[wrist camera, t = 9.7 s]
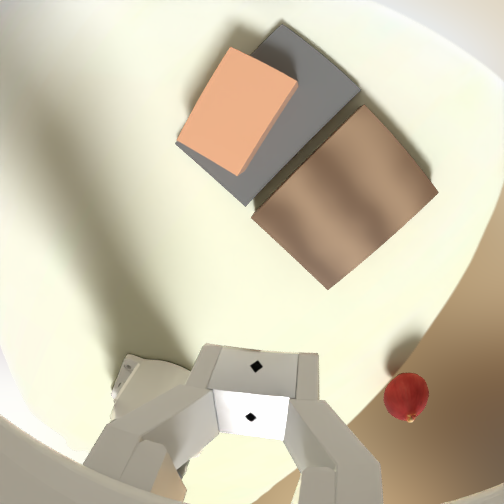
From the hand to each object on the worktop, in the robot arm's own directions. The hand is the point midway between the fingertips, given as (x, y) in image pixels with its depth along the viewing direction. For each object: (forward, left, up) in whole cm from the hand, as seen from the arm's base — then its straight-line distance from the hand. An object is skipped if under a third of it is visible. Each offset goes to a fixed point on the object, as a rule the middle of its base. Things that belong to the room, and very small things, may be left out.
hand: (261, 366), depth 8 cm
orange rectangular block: (+2, +9, -21) cm, 22 cm away
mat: (+3, +7, -21) cm, 23 cm away
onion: (-6, -26, -22) cm, 35 cm away
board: (+3, -3, -21) cm, 22 cm away
